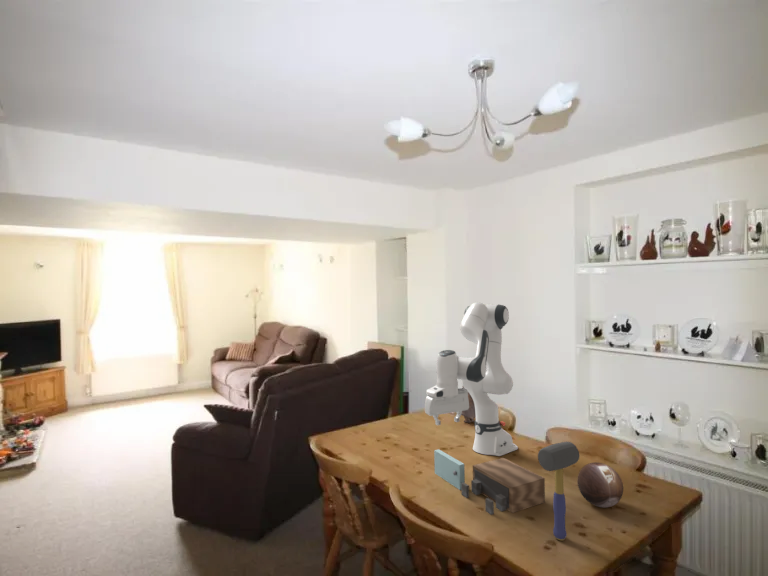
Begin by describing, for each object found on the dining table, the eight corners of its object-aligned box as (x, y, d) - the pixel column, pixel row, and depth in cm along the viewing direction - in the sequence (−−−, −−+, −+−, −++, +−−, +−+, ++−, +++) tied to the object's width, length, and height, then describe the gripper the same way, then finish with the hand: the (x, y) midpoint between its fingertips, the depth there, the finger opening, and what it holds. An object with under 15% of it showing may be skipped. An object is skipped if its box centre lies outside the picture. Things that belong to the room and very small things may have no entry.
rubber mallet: (556, 550, 132) (555, 451, 132) (536, 538, 138) (535, 444, 138) (583, 538, 138) (581, 444, 138) (562, 527, 144) (561, 437, 144)
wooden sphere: (603, 519, 149) (602, 475, 149) (568, 500, 163) (568, 460, 163) (633, 509, 155) (632, 467, 155) (597, 492, 169) (596, 453, 169)
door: (439, 472, 189) (438, 449, 189) (464, 489, 173) (464, 463, 173) (433, 473, 188) (432, 450, 188) (458, 490, 172) (457, 465, 172)
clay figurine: (472, 418, 266) (471, 377, 266) (483, 422, 257) (482, 380, 257) (455, 421, 260) (454, 379, 260) (465, 425, 251) (465, 382, 251)
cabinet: (503, 479, 181) (503, 457, 181) (544, 502, 161) (544, 477, 161) (457, 492, 170) (457, 469, 170) (495, 518, 151) (495, 492, 151)
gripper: (463, 385, 188) (463, 417, 188) (422, 391, 179) (422, 424, 179) (472, 388, 183) (472, 421, 182) (430, 394, 174) (431, 428, 173)
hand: (447, 423), depth 181 cm, fingers open, 8 cm apart
